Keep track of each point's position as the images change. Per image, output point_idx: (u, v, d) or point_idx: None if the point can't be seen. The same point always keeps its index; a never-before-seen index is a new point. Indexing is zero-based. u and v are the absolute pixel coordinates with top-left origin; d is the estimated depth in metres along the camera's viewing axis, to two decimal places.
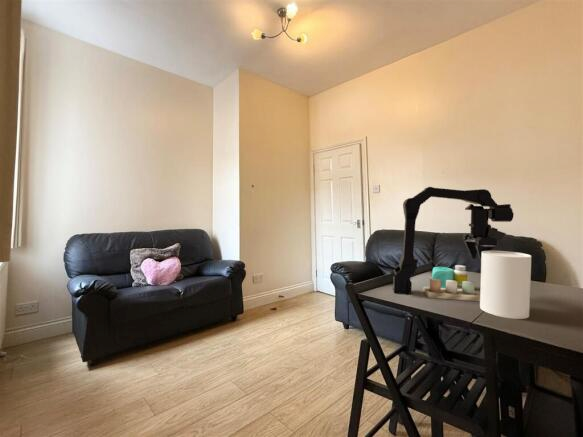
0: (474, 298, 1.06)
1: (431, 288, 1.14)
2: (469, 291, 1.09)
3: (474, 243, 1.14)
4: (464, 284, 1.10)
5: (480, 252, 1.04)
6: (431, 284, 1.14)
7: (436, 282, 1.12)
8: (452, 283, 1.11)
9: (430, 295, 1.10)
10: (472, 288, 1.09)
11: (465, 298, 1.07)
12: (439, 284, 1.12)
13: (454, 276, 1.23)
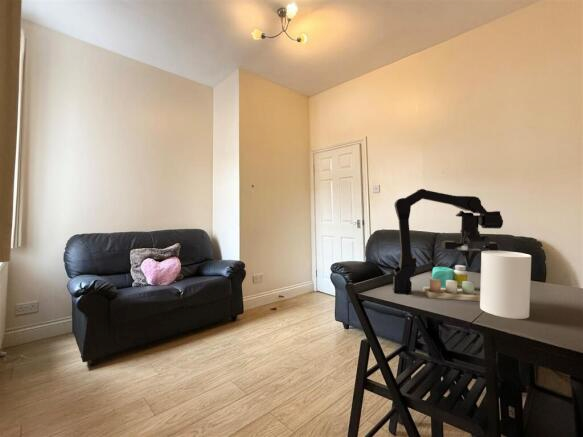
0: (474, 298, 1.06)
1: (431, 288, 1.14)
2: (469, 291, 1.09)
3: (471, 251, 1.10)
4: (464, 284, 1.10)
5: (462, 255, 1.12)
6: (431, 284, 1.14)
7: (436, 282, 1.12)
8: (452, 283, 1.11)
9: (430, 295, 1.10)
10: (472, 288, 1.09)
11: (465, 298, 1.07)
12: (439, 284, 1.12)
13: (454, 276, 1.23)
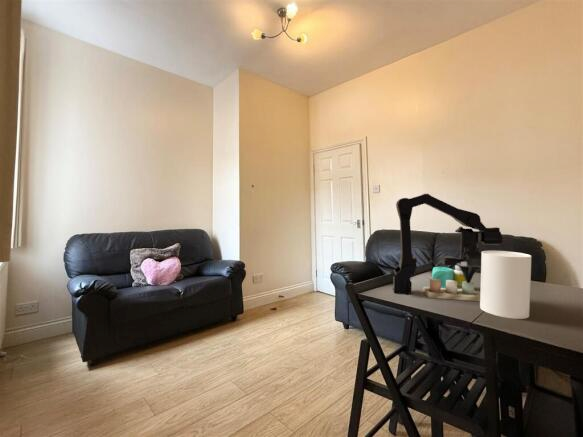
0: (474, 298, 1.06)
1: (431, 288, 1.14)
2: (469, 291, 1.09)
3: (470, 267, 1.10)
4: (464, 284, 1.10)
5: (462, 271, 1.13)
6: (431, 284, 1.14)
7: (436, 282, 1.12)
8: (452, 283, 1.11)
9: (430, 295, 1.10)
10: (472, 288, 1.09)
11: (465, 298, 1.07)
12: (439, 284, 1.12)
13: (454, 276, 1.23)
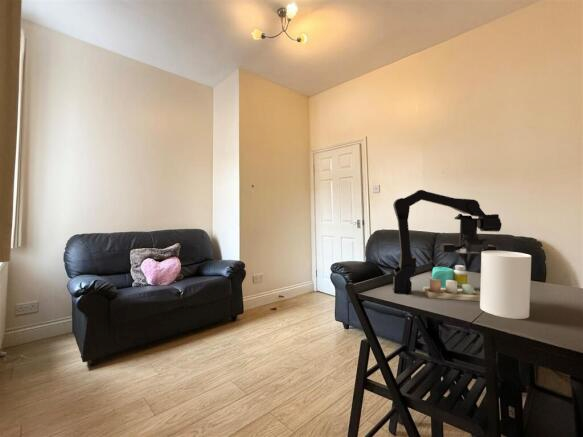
0: (474, 298, 1.06)
1: (431, 288, 1.14)
2: (469, 294, 1.09)
3: (469, 254, 1.10)
4: (464, 287, 1.11)
5: (461, 258, 1.13)
6: (431, 284, 1.14)
7: (436, 282, 1.12)
8: (452, 283, 1.11)
9: (430, 295, 1.10)
10: (472, 291, 1.09)
11: (465, 298, 1.07)
12: (439, 284, 1.12)
13: (454, 276, 1.23)
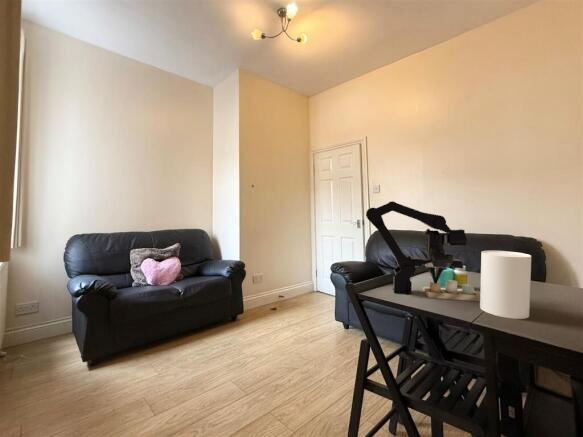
0: (474, 298, 1.06)
1: (431, 291, 1.14)
2: (469, 294, 1.09)
3: (437, 268, 1.14)
4: (464, 287, 1.11)
5: (430, 272, 1.16)
6: (431, 287, 1.14)
7: (436, 285, 1.12)
8: (452, 283, 1.11)
9: (430, 295, 1.10)
10: (472, 291, 1.09)
11: (465, 298, 1.07)
12: (439, 287, 1.12)
13: (454, 276, 1.23)
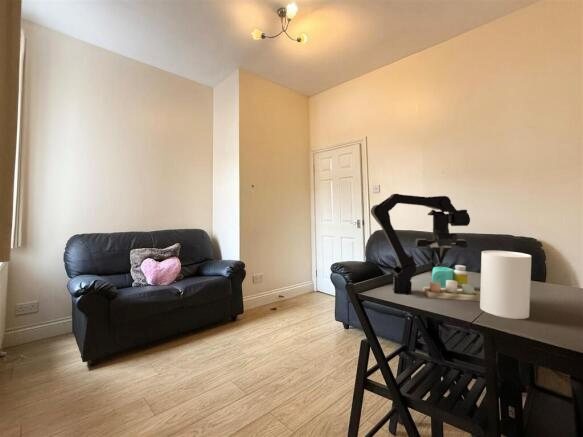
0: (474, 298, 1.06)
1: (431, 291, 1.14)
2: (469, 294, 1.09)
3: (442, 248, 1.15)
4: (464, 287, 1.11)
5: (435, 252, 1.17)
6: (431, 287, 1.14)
7: (436, 285, 1.12)
8: (452, 283, 1.11)
9: (430, 295, 1.10)
10: (472, 291, 1.09)
11: (465, 298, 1.07)
12: (439, 287, 1.12)
13: (454, 276, 1.23)
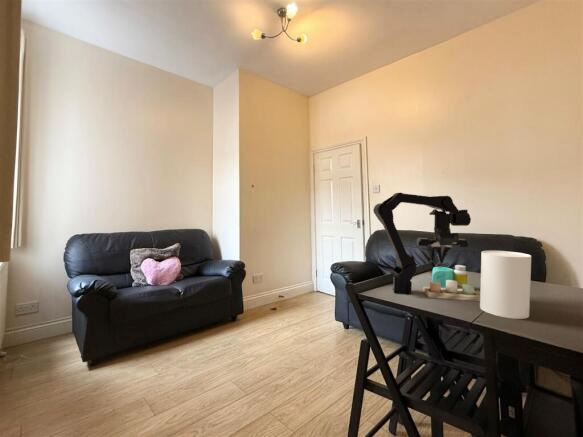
0: (474, 298, 1.06)
1: (431, 291, 1.14)
2: (469, 294, 1.09)
3: (443, 248, 1.16)
4: (464, 287, 1.11)
5: (436, 252, 1.19)
6: (431, 287, 1.14)
7: (436, 285, 1.12)
8: (452, 283, 1.11)
9: (430, 295, 1.10)
10: (472, 291, 1.09)
11: (465, 298, 1.07)
12: (439, 287, 1.12)
13: (454, 276, 1.23)
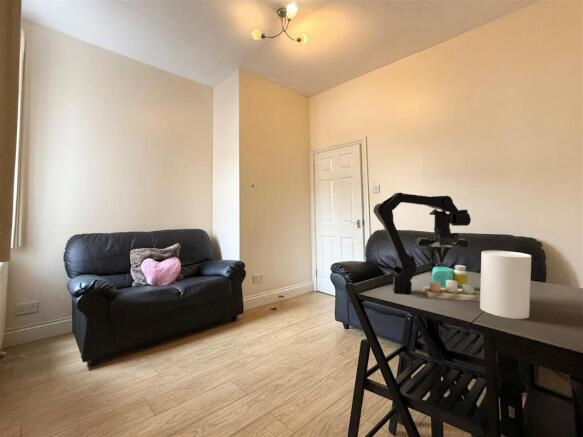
0: (474, 298, 1.06)
1: (431, 291, 1.14)
2: (469, 294, 1.09)
3: (443, 248, 1.16)
4: (464, 287, 1.11)
5: (436, 252, 1.19)
6: (431, 287, 1.14)
7: (436, 285, 1.12)
8: (452, 283, 1.11)
9: (430, 295, 1.10)
10: (472, 291, 1.09)
11: (465, 298, 1.07)
12: (439, 287, 1.12)
13: (454, 276, 1.23)
